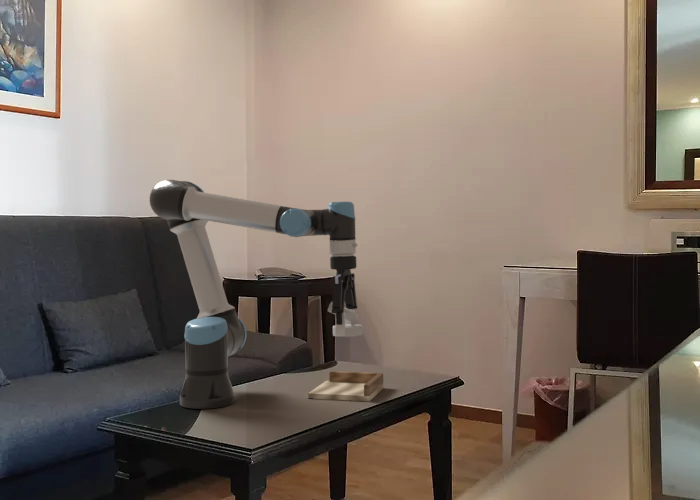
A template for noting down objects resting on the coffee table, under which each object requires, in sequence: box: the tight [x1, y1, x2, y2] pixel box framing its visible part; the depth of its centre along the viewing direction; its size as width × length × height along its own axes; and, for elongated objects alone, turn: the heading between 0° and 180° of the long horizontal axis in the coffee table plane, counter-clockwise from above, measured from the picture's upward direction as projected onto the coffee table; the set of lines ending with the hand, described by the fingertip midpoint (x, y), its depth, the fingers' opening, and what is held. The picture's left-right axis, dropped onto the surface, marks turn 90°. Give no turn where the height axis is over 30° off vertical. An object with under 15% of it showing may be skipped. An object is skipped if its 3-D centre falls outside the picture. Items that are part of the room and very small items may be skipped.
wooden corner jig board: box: [307, 370, 384, 402], centre depth 221 cm, size 18×18×4 cm
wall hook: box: [327, 301, 364, 338], centre depth 217 cm, size 9×10×10 cm
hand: (345, 333), depth 217 cm, fingers closed on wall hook, 9 cm apart
